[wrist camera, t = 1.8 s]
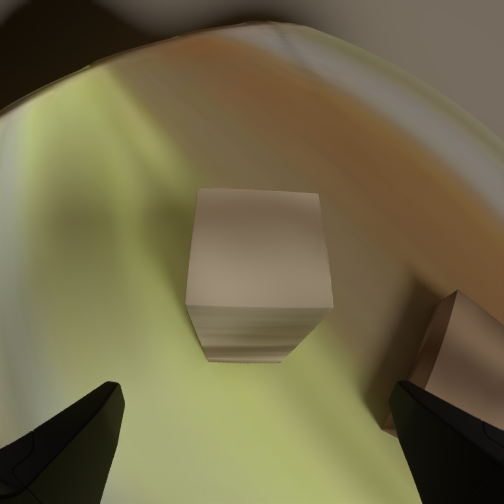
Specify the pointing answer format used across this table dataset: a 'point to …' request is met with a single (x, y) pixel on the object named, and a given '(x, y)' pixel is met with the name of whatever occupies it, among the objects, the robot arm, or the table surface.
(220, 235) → the birch block
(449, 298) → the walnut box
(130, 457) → the table surface
